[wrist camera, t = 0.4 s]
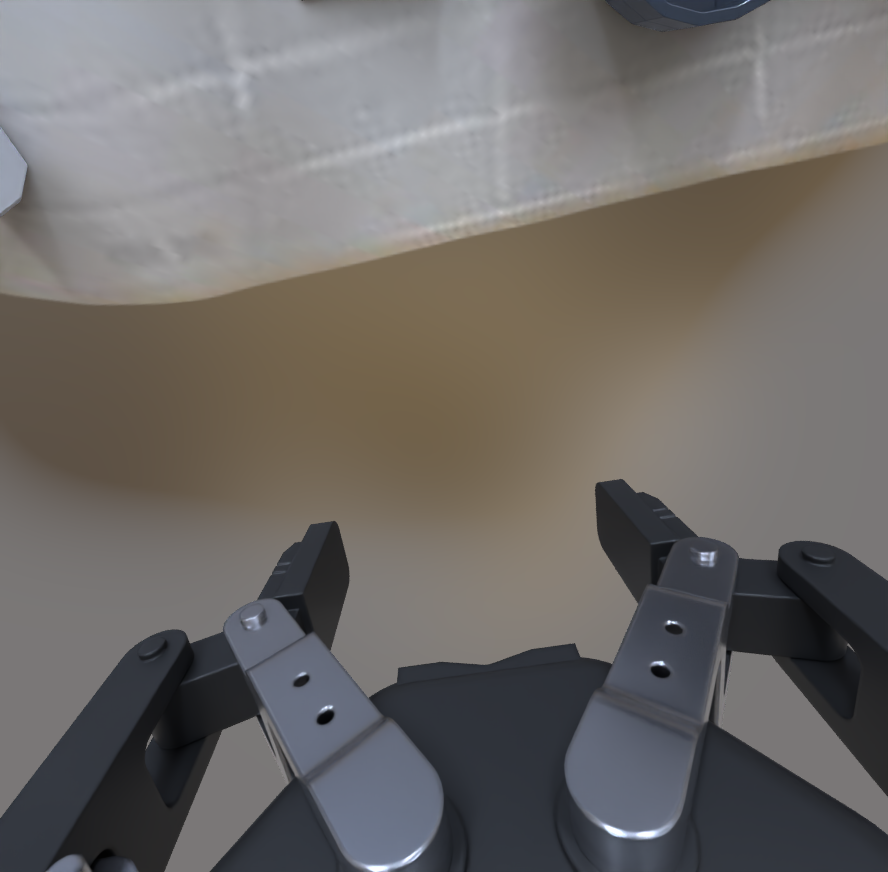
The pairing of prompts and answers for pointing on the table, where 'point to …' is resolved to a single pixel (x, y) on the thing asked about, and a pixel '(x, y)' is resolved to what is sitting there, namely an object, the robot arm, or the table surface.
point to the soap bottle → (10, 174)
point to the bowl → (682, 12)
